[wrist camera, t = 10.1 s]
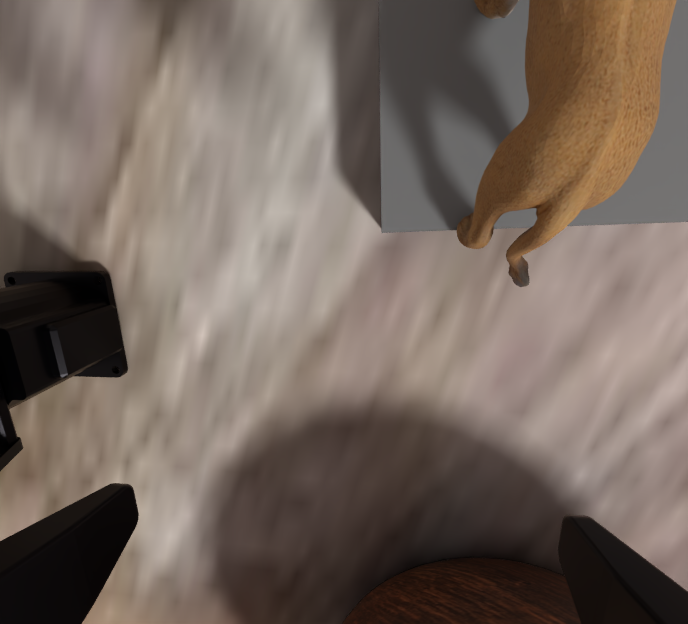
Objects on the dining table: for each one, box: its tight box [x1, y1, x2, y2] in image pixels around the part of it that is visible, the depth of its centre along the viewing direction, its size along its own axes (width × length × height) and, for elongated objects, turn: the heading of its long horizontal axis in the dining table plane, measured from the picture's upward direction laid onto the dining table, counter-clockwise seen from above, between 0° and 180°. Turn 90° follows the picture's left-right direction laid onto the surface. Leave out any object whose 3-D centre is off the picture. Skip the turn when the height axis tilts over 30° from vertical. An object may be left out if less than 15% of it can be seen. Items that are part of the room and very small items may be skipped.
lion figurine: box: [457, 0, 677, 287], centre depth 9 cm, size 15×5×9 cm, turn 8°
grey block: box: [379, 0, 688, 233], centre depth 15 cm, size 12×14×4 cm
